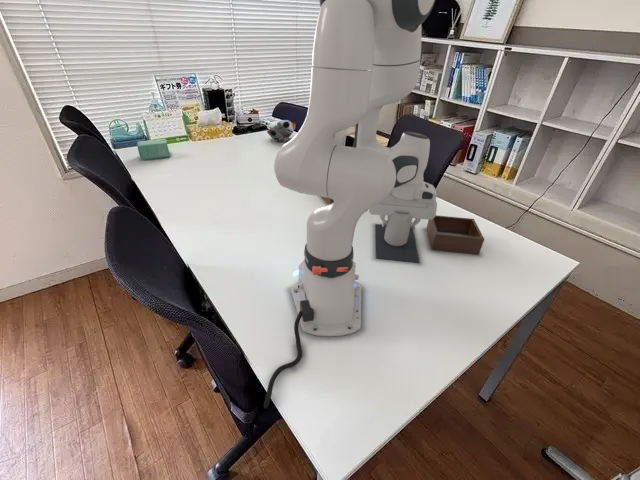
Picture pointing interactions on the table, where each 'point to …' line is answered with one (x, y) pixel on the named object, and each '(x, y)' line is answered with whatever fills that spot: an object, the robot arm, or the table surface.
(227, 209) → the table surface
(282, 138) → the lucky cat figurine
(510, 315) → the table surface
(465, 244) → the crate
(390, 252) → the mat
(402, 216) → the can
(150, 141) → the box
